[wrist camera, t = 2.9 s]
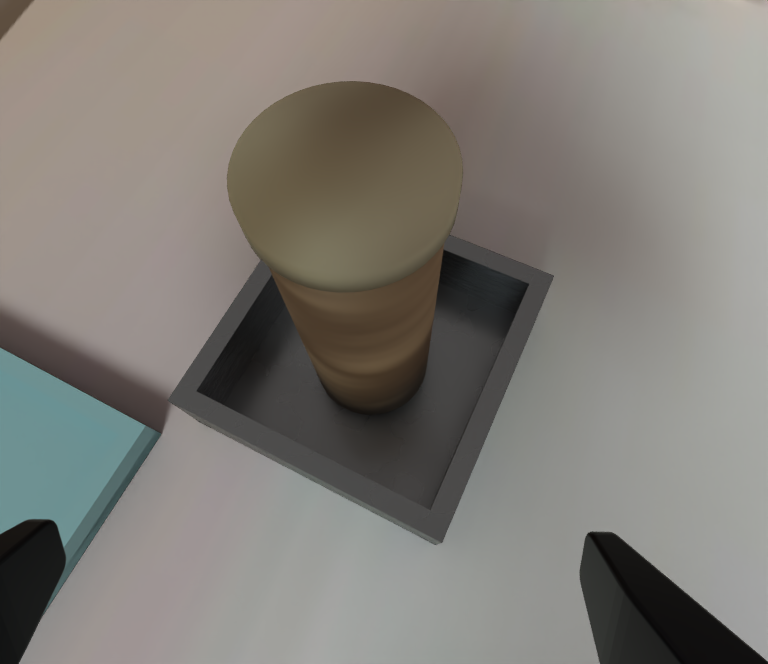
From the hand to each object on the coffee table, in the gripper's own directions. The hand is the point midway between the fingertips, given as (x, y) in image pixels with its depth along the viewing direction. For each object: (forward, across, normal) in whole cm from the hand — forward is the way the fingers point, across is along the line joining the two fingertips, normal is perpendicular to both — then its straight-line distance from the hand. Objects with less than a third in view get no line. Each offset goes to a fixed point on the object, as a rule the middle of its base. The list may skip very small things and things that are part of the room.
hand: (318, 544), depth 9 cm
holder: (+15, 0, +4) cm, 16 cm away
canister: (+15, 0, +4) cm, 15 cm away
